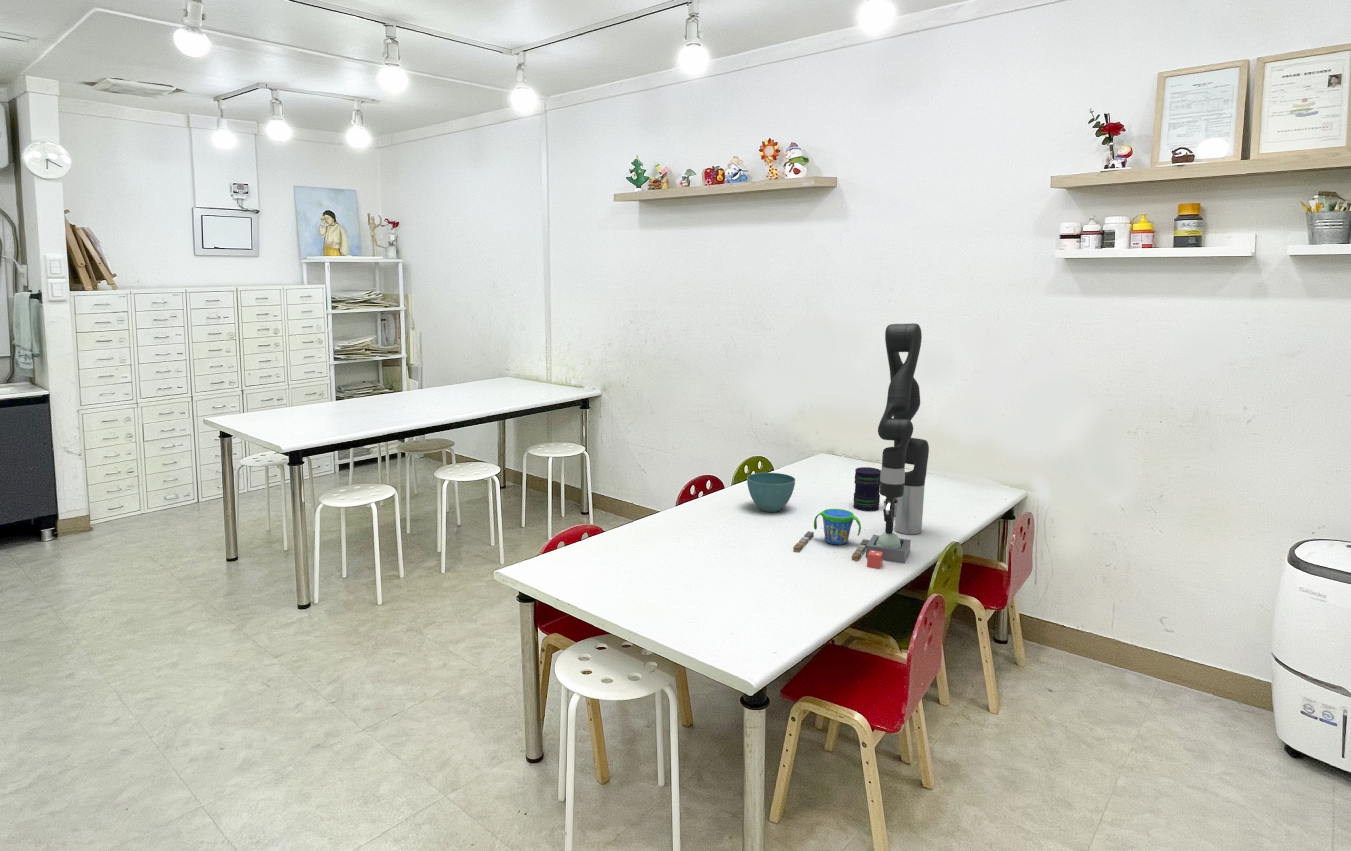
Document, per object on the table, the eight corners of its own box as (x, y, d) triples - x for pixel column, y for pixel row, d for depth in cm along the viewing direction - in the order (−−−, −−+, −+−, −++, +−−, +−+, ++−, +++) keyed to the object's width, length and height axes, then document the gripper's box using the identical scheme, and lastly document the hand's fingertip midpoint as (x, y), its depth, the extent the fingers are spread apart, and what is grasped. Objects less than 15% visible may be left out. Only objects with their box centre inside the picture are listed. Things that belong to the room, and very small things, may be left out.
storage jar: (851, 510, 311) (853, 472, 308) (854, 503, 320) (856, 466, 317) (878, 512, 308) (880, 474, 305) (880, 505, 317) (882, 468, 314)
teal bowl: (737, 505, 315) (738, 474, 313) (777, 500, 323) (778, 470, 321) (761, 518, 299) (762, 486, 297) (803, 512, 307) (804, 481, 304)
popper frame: (872, 546, 270) (873, 534, 269) (909, 551, 265) (910, 539, 264) (865, 557, 259) (866, 545, 259) (904, 563, 254) (904, 551, 254)
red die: (869, 562, 255) (870, 549, 254) (882, 564, 253) (883, 551, 253) (866, 566, 251) (867, 553, 251) (880, 568, 250) (880, 555, 249)
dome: (878, 548, 267) (879, 527, 266) (902, 552, 264) (903, 530, 263) (873, 555, 260) (875, 534, 259) (898, 559, 257) (899, 537, 256)
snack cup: (863, 541, 275) (865, 512, 273) (854, 550, 266) (855, 520, 264) (819, 533, 282) (820, 505, 280) (808, 542, 273) (810, 513, 271)
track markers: (807, 535, 280) (808, 531, 280) (869, 544, 272) (869, 539, 272) (793, 551, 264) (793, 546, 264) (857, 561, 256) (858, 556, 256)
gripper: (901, 486, 250) (897, 540, 253) (907, 477, 262) (904, 528, 265) (876, 483, 253) (873, 537, 256) (884, 474, 265) (881, 525, 268)
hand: (889, 532), depth 261 cm, fingers closed
